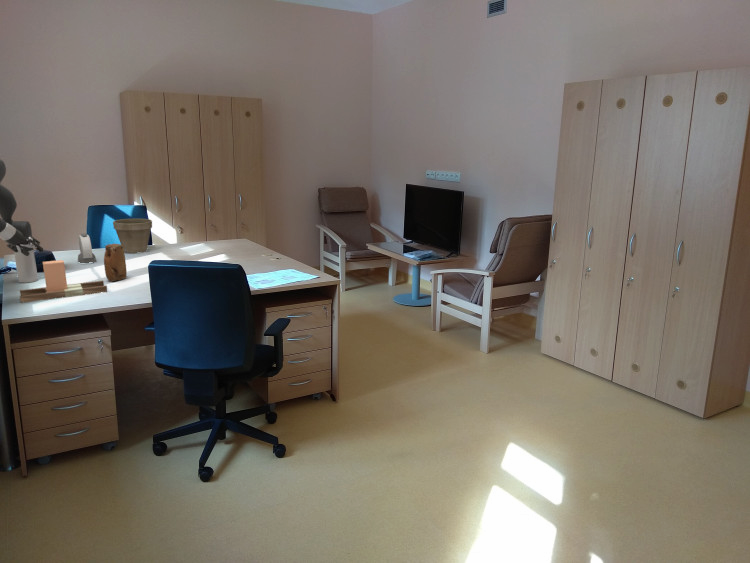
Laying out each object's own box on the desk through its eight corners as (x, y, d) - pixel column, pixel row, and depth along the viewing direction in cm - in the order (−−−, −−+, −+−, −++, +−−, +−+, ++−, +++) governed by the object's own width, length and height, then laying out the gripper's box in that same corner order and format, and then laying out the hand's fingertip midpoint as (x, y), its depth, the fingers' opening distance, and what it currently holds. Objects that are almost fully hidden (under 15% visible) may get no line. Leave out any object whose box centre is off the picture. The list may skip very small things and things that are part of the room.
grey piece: (98, 263, 352) (94, 234, 347) (80, 265, 346) (76, 236, 342) (94, 258, 365) (90, 231, 360) (76, 260, 359) (72, 232, 355)
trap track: (20, 296, 279) (19, 290, 278) (103, 285, 299) (103, 280, 298) (21, 302, 268) (20, 296, 267) (107, 291, 287) (106, 286, 287)
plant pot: (162, 249, 397) (159, 218, 392) (140, 255, 374) (137, 224, 369) (131, 247, 403) (128, 217, 397) (108, 254, 380) (104, 222, 374)
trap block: (46, 288, 281) (42, 261, 278) (66, 286, 286) (63, 259, 282) (47, 291, 276) (43, 264, 273) (67, 289, 281) (63, 262, 277)
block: (117, 276, 318) (114, 242, 313) (128, 277, 316) (125, 243, 311) (104, 281, 308) (99, 246, 303) (115, 282, 306) (111, 246, 301)
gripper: (23, 224, 263) (49, 243, 276) (-1, 230, 266) (26, 249, 279) (18, 236, 259) (44, 256, 272) (-7, 243, 262) (21, 261, 275)
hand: (35, 252), depth 276 cm, fingers open, 8 cm apart
